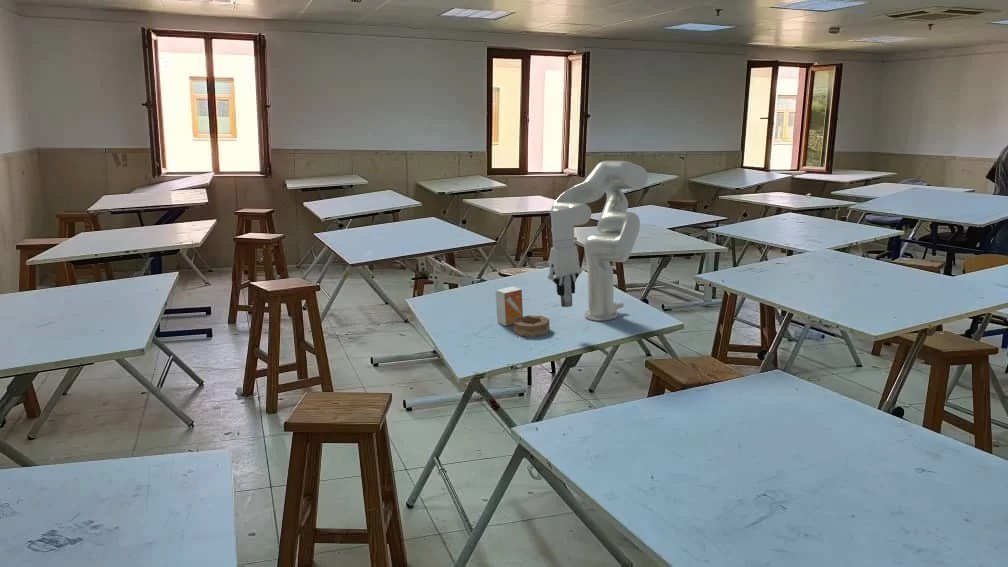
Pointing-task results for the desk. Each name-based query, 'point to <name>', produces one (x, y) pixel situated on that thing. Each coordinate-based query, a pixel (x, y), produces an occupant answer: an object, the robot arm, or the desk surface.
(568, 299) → the peg
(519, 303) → the small box
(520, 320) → the brown octagonal ring
